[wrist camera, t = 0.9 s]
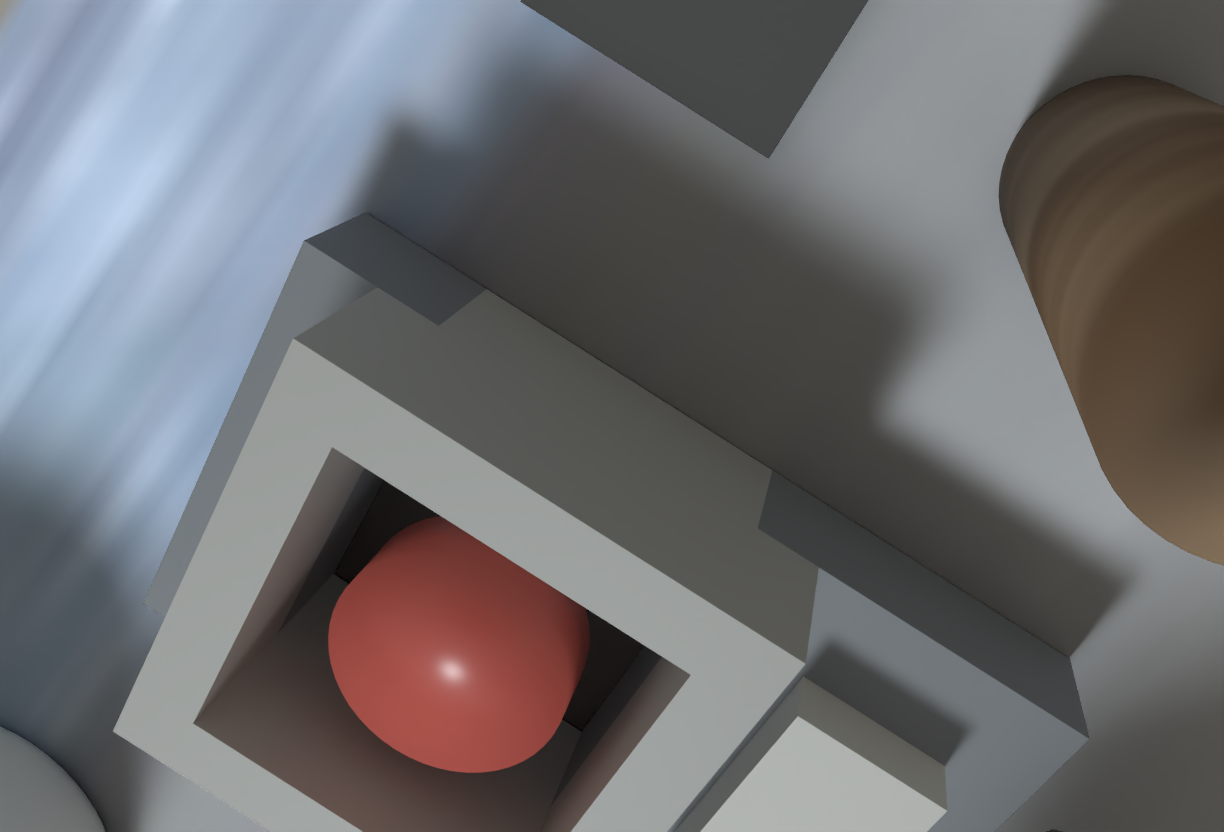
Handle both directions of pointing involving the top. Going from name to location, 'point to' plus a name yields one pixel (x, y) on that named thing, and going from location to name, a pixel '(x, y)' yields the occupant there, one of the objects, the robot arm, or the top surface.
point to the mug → (39, 792)
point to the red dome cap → (456, 650)
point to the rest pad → (718, 52)
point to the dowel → (1133, 286)
